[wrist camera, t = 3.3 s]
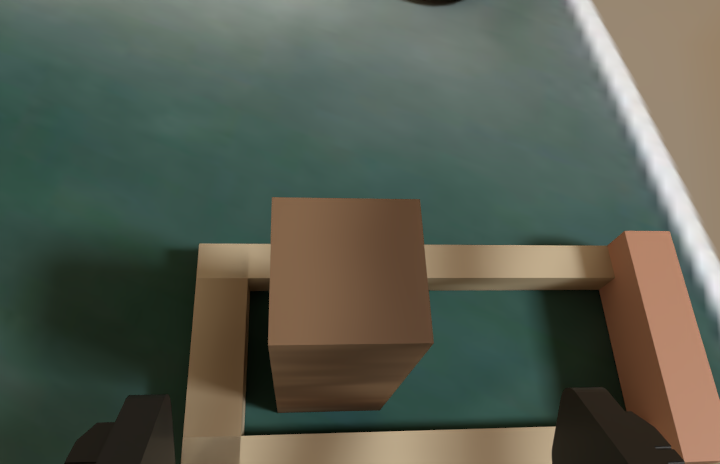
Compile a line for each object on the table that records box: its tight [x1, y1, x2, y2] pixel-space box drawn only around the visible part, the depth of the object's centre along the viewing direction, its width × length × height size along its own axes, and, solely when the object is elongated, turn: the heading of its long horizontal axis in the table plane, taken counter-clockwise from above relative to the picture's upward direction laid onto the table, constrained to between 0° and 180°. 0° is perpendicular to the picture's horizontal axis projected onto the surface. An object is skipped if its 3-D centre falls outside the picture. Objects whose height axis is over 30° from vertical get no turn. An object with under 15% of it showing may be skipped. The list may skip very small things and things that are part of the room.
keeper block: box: [268, 197, 434, 413], centre depth 20 cm, size 4×4×10 cm
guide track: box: [181, 231, 720, 464], centre depth 23 cm, size 20×9×3 cm, turn 92°
